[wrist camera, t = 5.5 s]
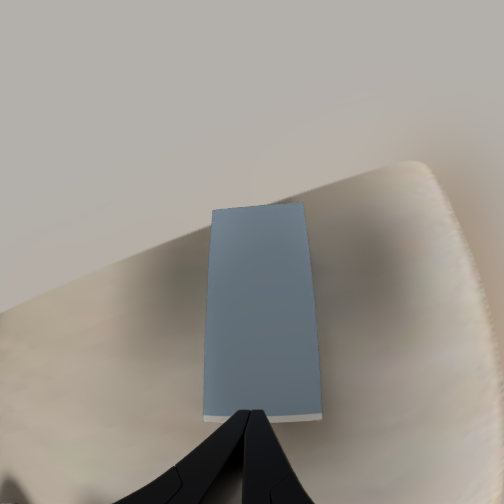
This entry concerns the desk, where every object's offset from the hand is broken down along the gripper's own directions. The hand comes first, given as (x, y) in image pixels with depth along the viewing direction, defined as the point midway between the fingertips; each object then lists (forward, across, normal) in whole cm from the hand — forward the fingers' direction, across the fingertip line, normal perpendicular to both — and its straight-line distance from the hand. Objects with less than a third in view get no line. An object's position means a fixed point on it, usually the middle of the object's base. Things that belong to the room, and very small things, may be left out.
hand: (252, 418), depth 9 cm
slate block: (+3, 0, -4) cm, 5 cm away
